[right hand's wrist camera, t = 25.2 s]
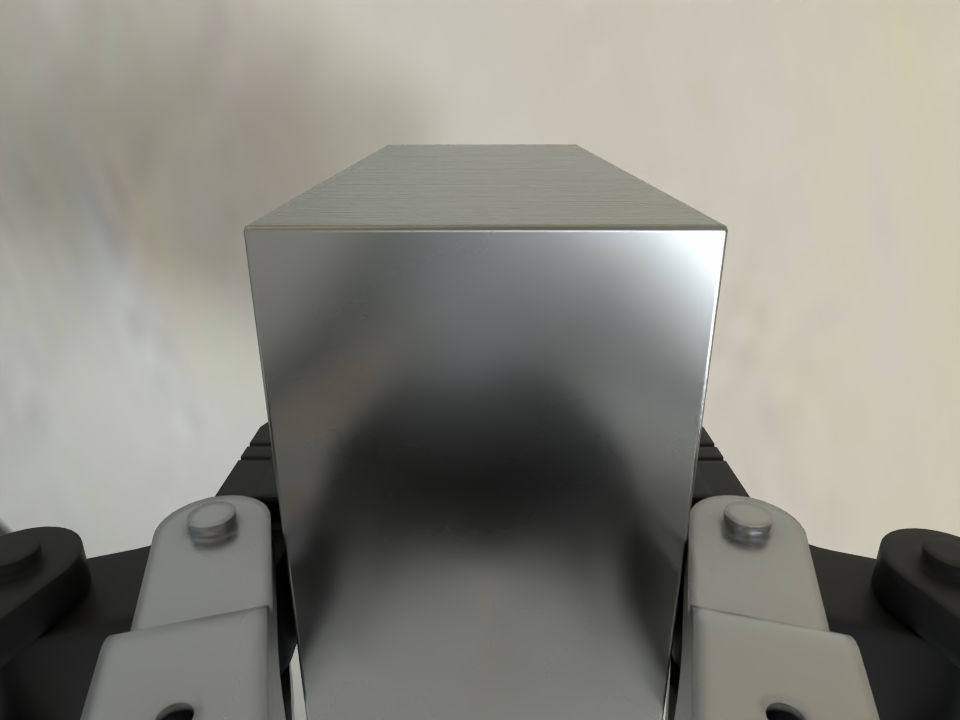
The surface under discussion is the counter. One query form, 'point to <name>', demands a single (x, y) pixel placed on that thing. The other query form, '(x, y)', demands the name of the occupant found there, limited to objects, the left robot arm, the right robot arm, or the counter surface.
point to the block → (485, 429)
